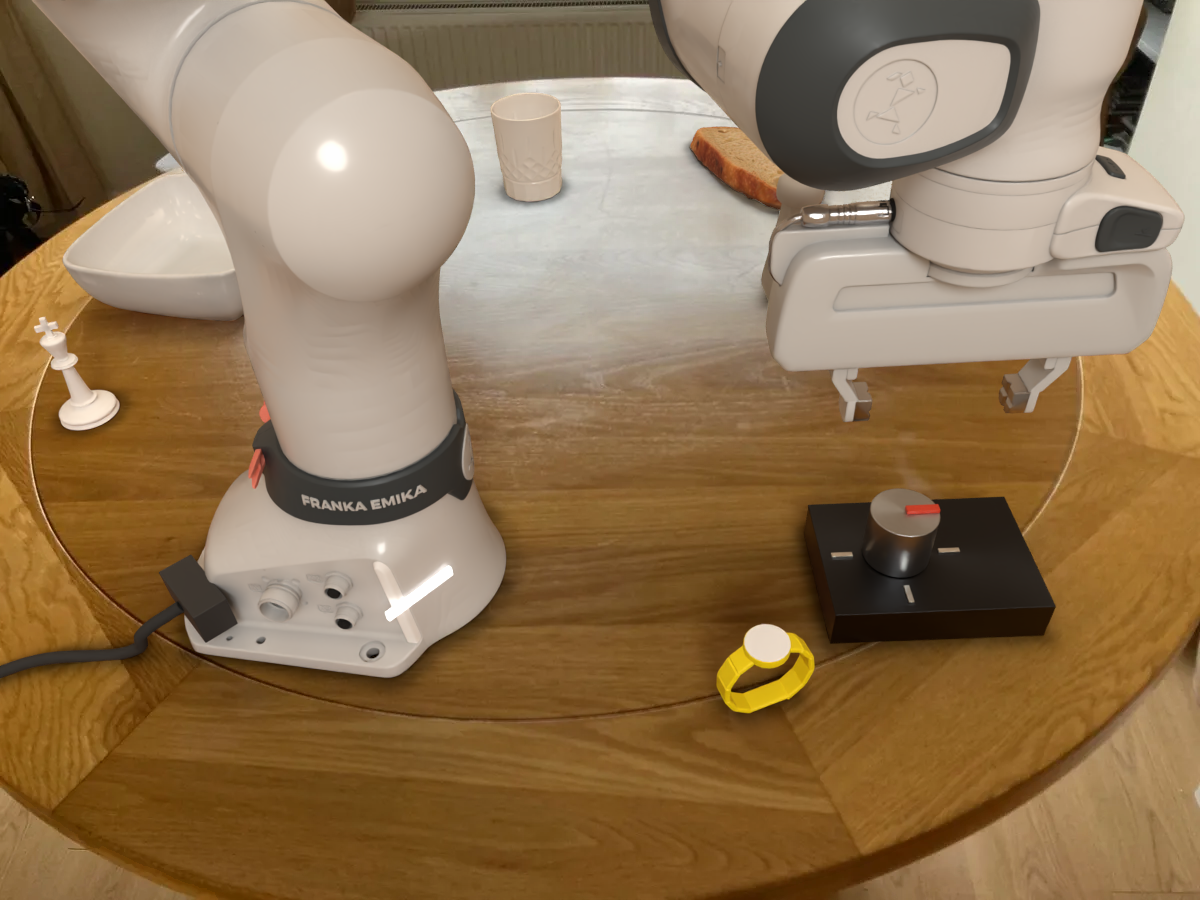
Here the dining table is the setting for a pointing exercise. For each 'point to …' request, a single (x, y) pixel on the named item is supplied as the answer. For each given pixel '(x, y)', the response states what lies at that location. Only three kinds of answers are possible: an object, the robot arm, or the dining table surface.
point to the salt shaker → (790, 211)
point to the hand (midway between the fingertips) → (933, 411)
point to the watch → (765, 651)
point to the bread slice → (738, 163)
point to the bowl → (159, 255)
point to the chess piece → (76, 385)
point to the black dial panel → (929, 577)
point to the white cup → (529, 144)
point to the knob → (900, 532)
